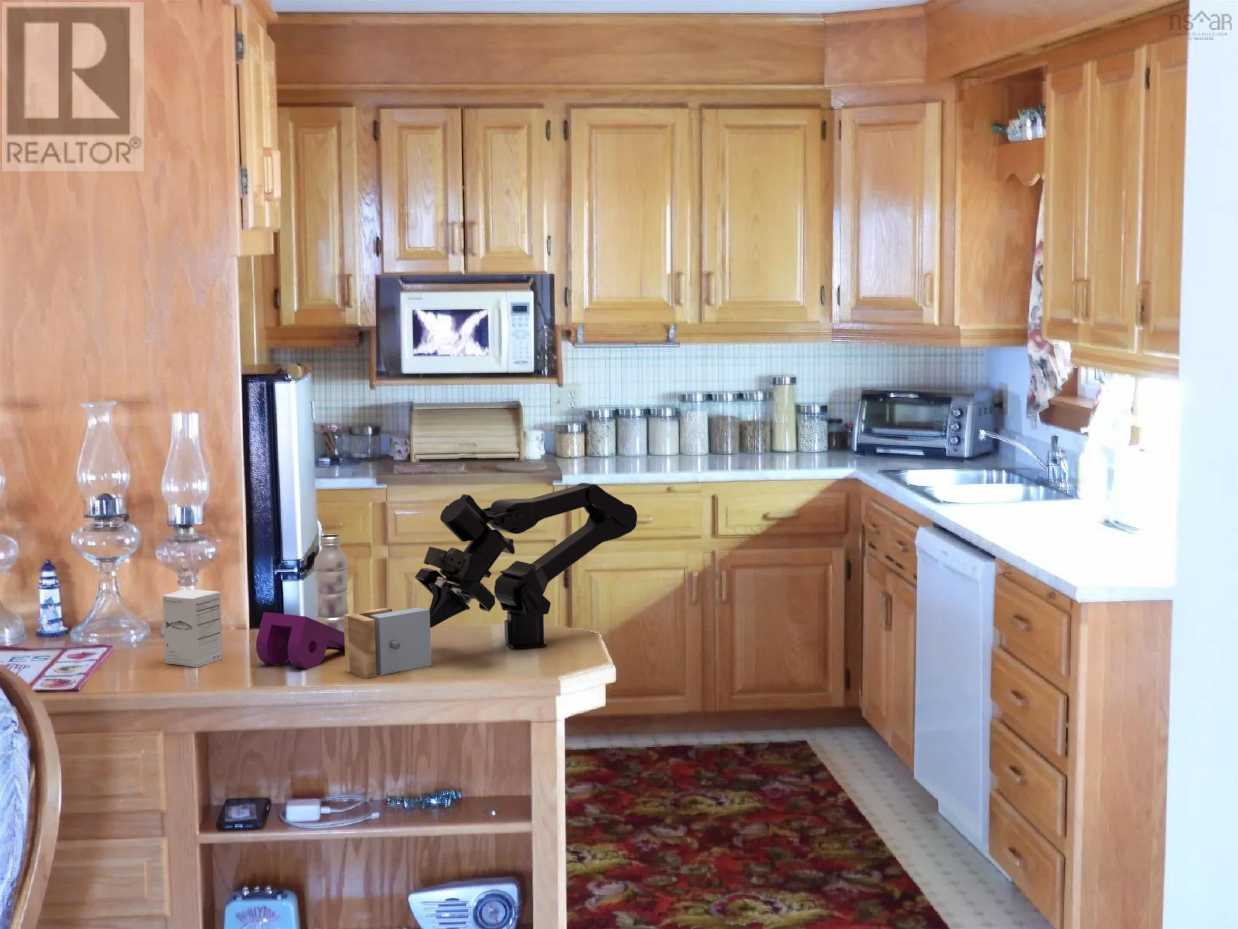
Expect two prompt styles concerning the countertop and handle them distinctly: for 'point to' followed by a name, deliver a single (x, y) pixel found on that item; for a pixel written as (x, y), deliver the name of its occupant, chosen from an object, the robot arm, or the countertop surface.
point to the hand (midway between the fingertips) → (426, 626)
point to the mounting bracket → (295, 640)
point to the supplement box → (192, 627)
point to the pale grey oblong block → (402, 640)
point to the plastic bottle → (331, 582)
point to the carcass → (361, 642)
